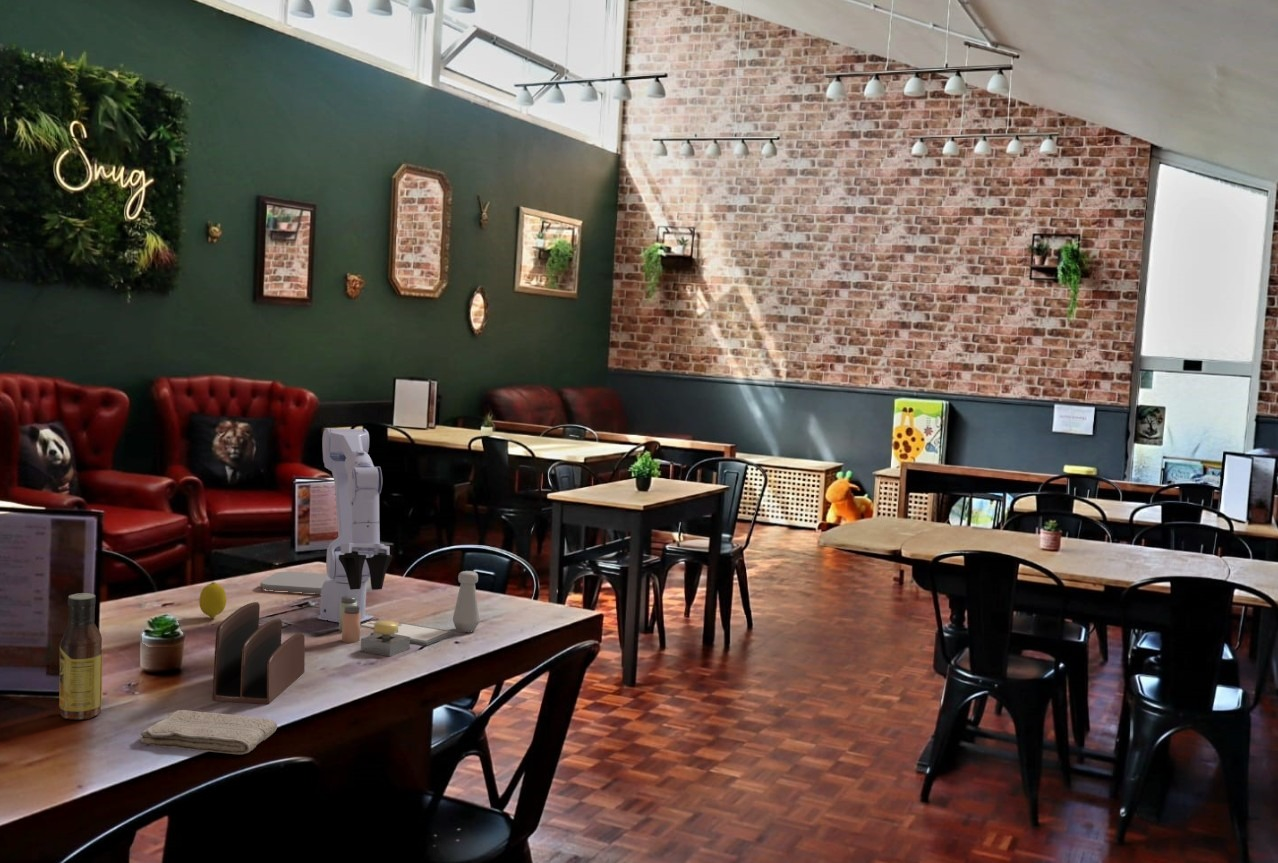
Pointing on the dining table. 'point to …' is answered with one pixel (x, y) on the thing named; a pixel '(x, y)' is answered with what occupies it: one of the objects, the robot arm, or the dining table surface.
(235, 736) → the washcloth
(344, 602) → the green spice jar
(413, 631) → the clipboard
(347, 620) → the pepper shaker
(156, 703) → the dining table surface
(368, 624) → the card
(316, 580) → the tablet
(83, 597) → the sauce bottle
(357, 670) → the dining table surface
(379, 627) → the button
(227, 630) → the letter holder
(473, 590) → the salt shaker
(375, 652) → the switch box
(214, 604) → the lemon
